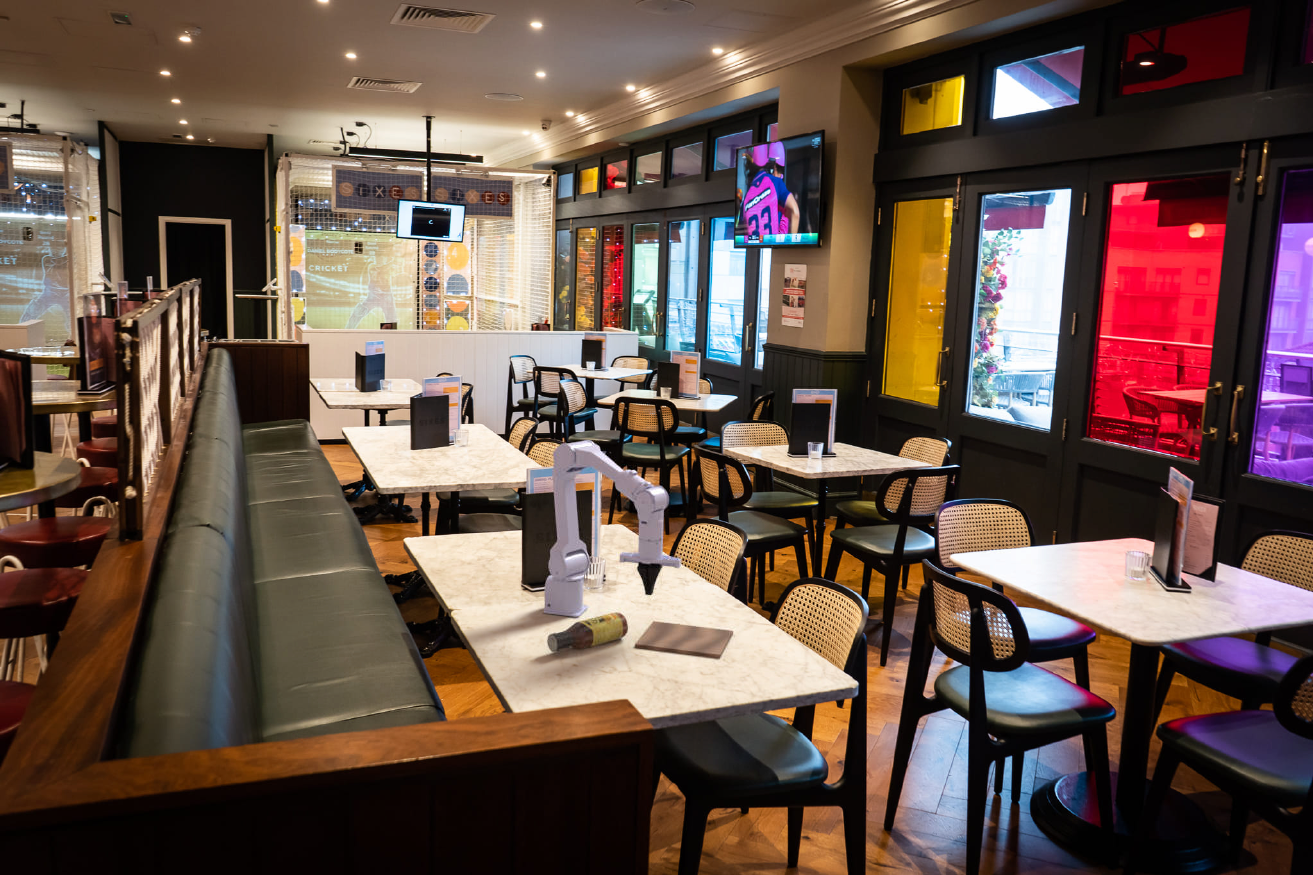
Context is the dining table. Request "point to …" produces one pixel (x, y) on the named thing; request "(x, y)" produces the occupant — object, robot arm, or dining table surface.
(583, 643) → the sauce bottle
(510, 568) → the dining table surface
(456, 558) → the dining table surface
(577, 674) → the dining table surface
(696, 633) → the walnut board
